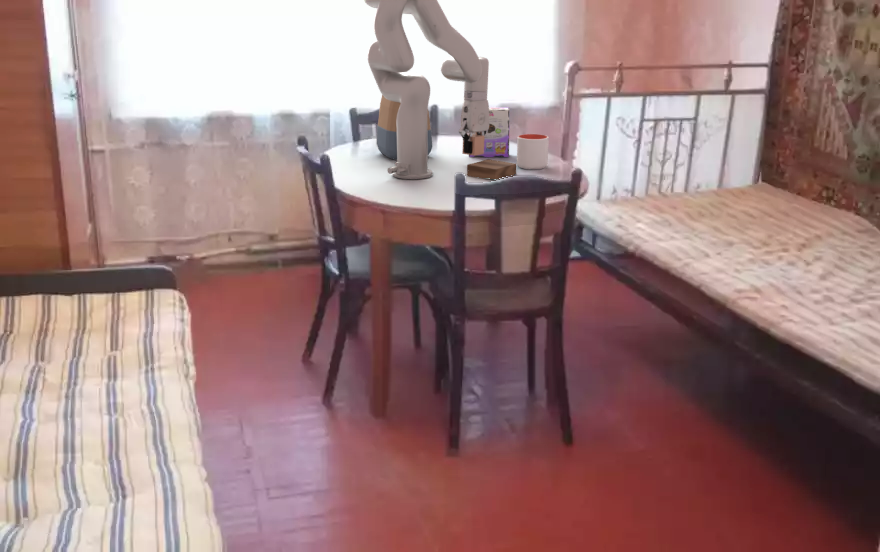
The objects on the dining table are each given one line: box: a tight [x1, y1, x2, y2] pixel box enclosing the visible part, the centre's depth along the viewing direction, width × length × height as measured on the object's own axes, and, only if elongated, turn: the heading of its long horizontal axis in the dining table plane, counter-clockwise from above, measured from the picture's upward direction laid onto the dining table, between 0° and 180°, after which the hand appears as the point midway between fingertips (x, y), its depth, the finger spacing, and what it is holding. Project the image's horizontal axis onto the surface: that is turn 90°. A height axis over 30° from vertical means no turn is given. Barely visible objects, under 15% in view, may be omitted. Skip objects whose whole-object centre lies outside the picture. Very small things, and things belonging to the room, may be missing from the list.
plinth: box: [466, 158, 517, 180], centre depth 296 cm, size 11×11×4 cm
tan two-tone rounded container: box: [376, 94, 433, 161], centre depth 323 cm, size 17×17×23 cm
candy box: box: [468, 106, 511, 158], centre depth 323 cm, size 14×6×16 cm, turn 84°
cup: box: [516, 133, 550, 171], centre depth 307 cm, size 10×10×10 cm
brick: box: [462, 134, 485, 156], centre depth 310 cm, size 5×5×6 cm
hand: (473, 151), depth 311 cm, fingers closed on brick, 5 cm apart
